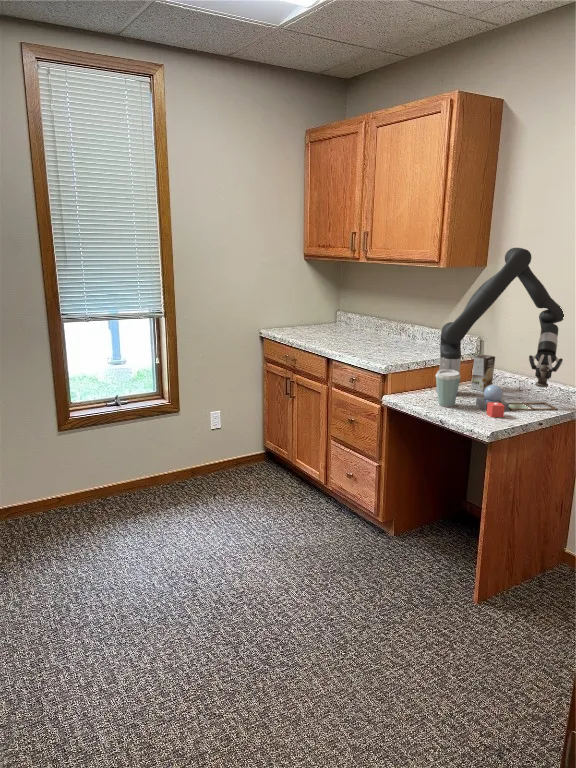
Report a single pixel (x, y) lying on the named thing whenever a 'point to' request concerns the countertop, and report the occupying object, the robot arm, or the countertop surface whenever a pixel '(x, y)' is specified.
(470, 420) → the countertop surface
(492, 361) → the coffee box
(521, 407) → the window frame
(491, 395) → the pale blue sphere
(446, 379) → the disposable coffee cup
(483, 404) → the housing
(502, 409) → the die
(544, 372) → the pawn
